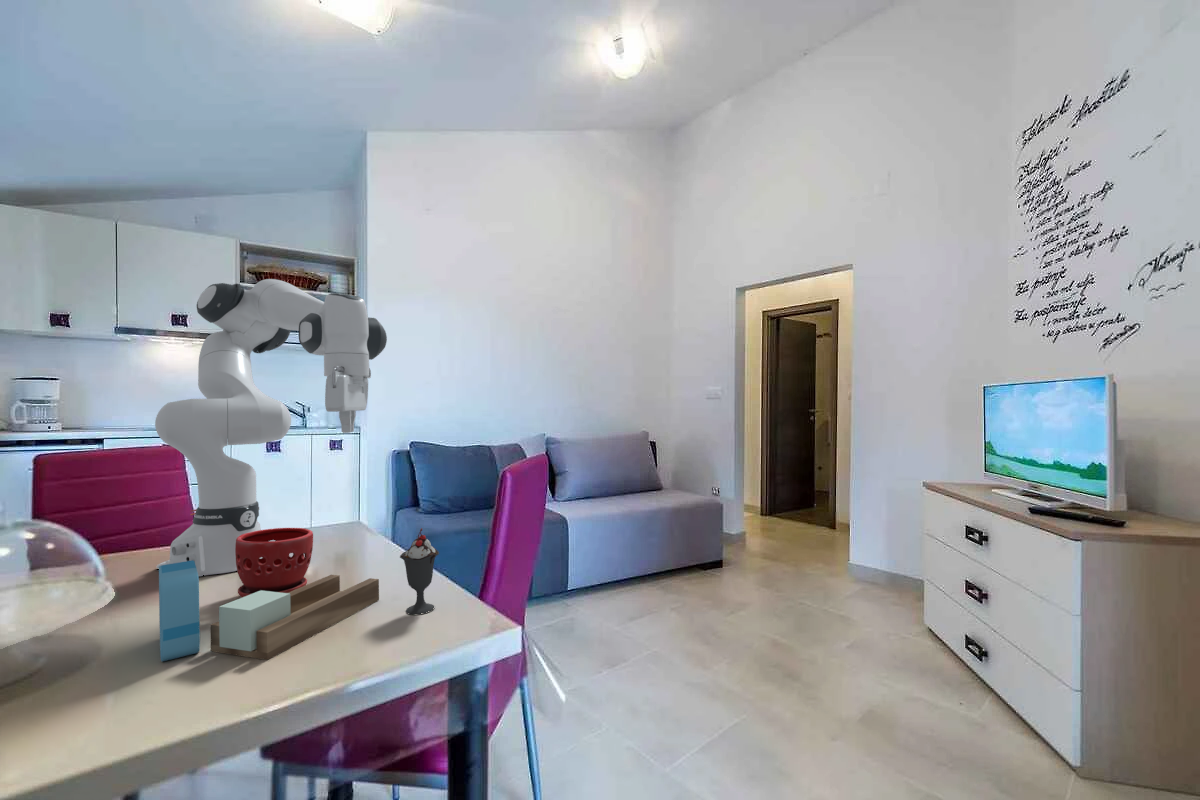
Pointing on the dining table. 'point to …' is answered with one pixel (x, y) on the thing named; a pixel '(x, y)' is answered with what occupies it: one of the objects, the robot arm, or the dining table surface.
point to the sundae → (419, 571)
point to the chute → (306, 615)
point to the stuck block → (250, 618)
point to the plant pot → (273, 559)
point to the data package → (179, 610)
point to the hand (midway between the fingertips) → (347, 432)
